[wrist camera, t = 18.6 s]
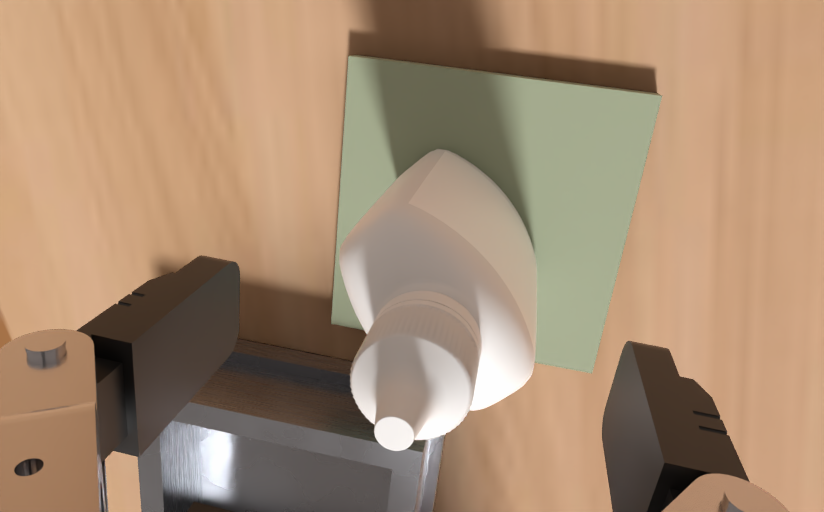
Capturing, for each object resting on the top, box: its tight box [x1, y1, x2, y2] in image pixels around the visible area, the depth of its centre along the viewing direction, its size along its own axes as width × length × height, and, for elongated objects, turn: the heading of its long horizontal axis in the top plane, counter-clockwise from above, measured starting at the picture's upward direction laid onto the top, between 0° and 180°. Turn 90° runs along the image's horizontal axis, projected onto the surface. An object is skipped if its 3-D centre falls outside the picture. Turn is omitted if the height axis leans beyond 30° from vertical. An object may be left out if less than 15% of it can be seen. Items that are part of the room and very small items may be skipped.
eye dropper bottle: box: [339, 149, 537, 451], centre depth 16 cm, size 4×6×12 cm
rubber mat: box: [331, 55, 662, 373], centre depth 22 cm, size 10×10×1 cm
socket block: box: [138, 339, 445, 512], centre depth 26 cm, size 12×12×4 cm
